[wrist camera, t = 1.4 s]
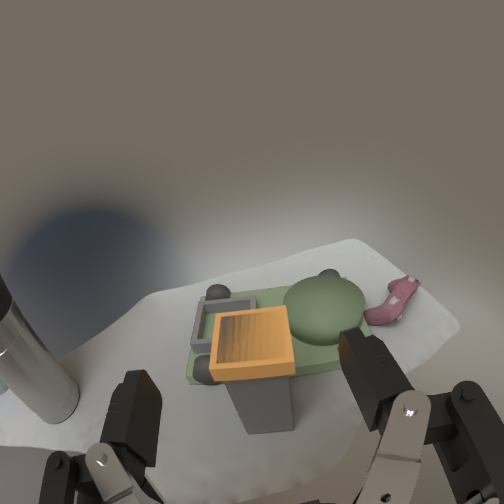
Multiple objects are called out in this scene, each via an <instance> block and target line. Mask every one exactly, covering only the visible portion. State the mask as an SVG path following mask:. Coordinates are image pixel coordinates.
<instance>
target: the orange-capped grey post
mask: <svg viewBox="0 0 504 504" xmlns="http://www.w3.org/2000/svg"><path fill="white" fill-rule="evenodd" d="M209 371H210V373H211V375H212V377H213V379H214V381H224V383H225V385H226V388H227V390H228V392H229V394H230V397H231V399H232V401H233V403H234V406H235V408H236V410H237V412H238V414H239V416H240V418H241V421H242V423H243V425H244V427H245V429H246V431H247V433H248V434H262V433H273V432H283V431H291V430H294V426H293V415H292V404H291V394H290V384H289V375H291V374H295V361H294V354H293V348H292V341H291V334H290V328H289V322H288V315H287V309H286V305H282V306H275V307H267V308H259V309H251V310H243V311H234V312H225V313H216V315H215V323H214V331H213V339H212V347H211V356H210V364H209Z"/></svg>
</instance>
